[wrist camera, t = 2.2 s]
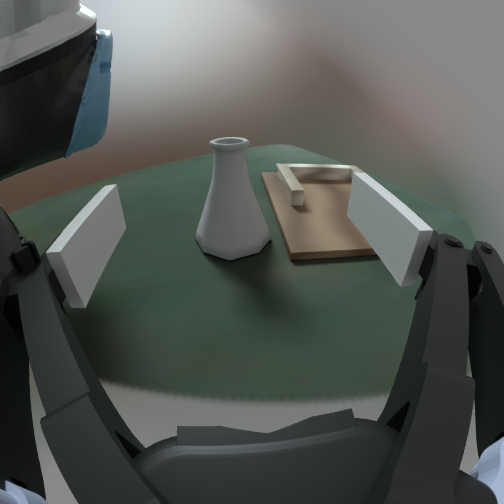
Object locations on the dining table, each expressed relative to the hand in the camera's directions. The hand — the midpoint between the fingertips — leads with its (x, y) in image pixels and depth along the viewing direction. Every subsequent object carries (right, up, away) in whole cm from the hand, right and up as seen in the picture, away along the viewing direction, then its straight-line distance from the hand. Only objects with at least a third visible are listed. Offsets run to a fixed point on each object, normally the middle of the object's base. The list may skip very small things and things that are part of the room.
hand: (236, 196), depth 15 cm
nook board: (+12, +3, +20) cm, 23 cm away
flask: (-1, -2, +13) cm, 14 cm away
